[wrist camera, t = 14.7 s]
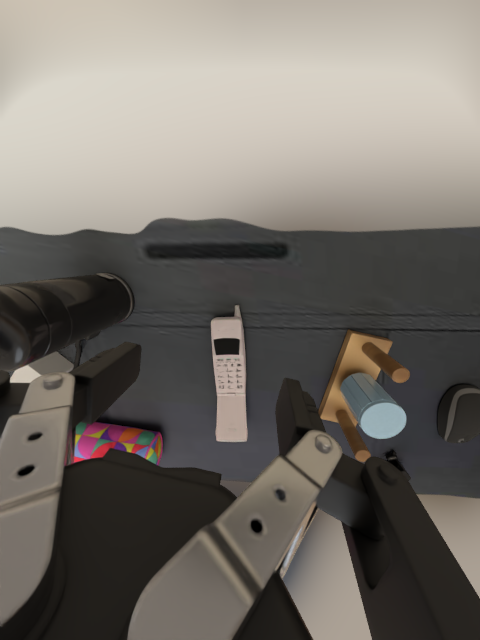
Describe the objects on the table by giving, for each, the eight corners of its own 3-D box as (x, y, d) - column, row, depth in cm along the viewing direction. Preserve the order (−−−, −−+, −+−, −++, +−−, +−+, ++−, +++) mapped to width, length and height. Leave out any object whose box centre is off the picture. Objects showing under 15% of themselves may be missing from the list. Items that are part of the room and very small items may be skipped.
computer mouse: (431, 437, 44) (447, 455, 40) (442, 383, 40) (461, 396, 37) (469, 438, 43) (490, 456, 39) (484, 383, 40) (508, 396, 36)
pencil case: (78, 445, 52) (42, 482, 44) (71, 411, 50) (32, 444, 41) (167, 454, 51) (149, 494, 42) (165, 420, 48) (144, 456, 39)
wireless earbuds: (405, 462, 46) (415, 477, 43) (375, 478, 48) (383, 493, 45) (392, 448, 45) (402, 462, 42) (362, 464, 47) (369, 479, 44)
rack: (352, 420, 44) (381, 471, 34) (317, 412, 44) (335, 460, 34) (387, 338, 39) (434, 368, 28) (347, 329, 39) (380, 356, 29)
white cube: (51, 347, 45) (21, 360, 40) (75, 365, 46) (49, 381, 40) (38, 366, 47) (8, 381, 41) (62, 383, 48) (35, 401, 42)
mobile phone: (215, 442, 41) (202, 313, 34) (220, 420, 47) (210, 305, 40) (248, 443, 41) (241, 312, 34) (248, 420, 46) (243, 304, 39)
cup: (335, 398, 39) (354, 433, 32) (347, 369, 37) (369, 398, 30) (369, 406, 39) (396, 443, 31) (382, 377, 37) (414, 408, 30)
